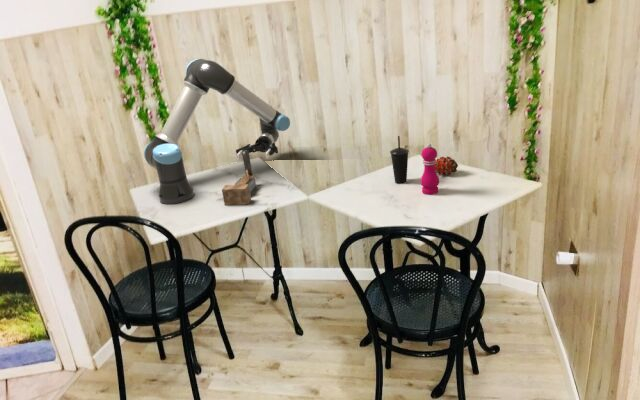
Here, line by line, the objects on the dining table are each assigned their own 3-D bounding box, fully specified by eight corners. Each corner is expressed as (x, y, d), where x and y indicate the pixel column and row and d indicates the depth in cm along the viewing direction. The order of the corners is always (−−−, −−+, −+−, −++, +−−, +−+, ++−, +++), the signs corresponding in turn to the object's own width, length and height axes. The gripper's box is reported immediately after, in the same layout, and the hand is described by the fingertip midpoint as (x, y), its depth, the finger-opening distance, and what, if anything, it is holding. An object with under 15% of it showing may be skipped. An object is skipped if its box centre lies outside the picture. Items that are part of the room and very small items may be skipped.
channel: (234, 197, 225) (232, 186, 223) (242, 188, 234) (240, 177, 232) (249, 196, 224) (248, 185, 222) (256, 187, 233) (254, 177, 231)
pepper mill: (439, 195, 204) (438, 146, 196) (420, 195, 205) (419, 147, 198) (439, 188, 210) (438, 140, 203) (421, 188, 212) (419, 141, 204)
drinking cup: (411, 184, 217) (409, 138, 210) (392, 185, 218) (390, 139, 210) (408, 177, 224) (406, 132, 217) (390, 179, 225) (388, 134, 217)
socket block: (224, 205, 218) (221, 189, 215) (228, 200, 222) (225, 185, 220) (247, 204, 216) (244, 188, 213) (251, 199, 220) (248, 184, 218)
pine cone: (460, 179, 221) (432, 181, 226) (460, 162, 226) (432, 165, 231) (456, 167, 215) (427, 171, 220) (456, 151, 219) (428, 154, 224)
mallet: (236, 194, 223) (230, 161, 218) (247, 181, 237) (241, 150, 231) (245, 194, 223) (239, 161, 217) (255, 181, 236) (250, 149, 230)
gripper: (290, 149, 254) (279, 163, 235) (241, 151, 259) (227, 165, 240) (288, 134, 251) (277, 147, 232) (239, 136, 256) (224, 150, 237)
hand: (252, 157), depth 236 cm, fingers open, 13 cm apart
